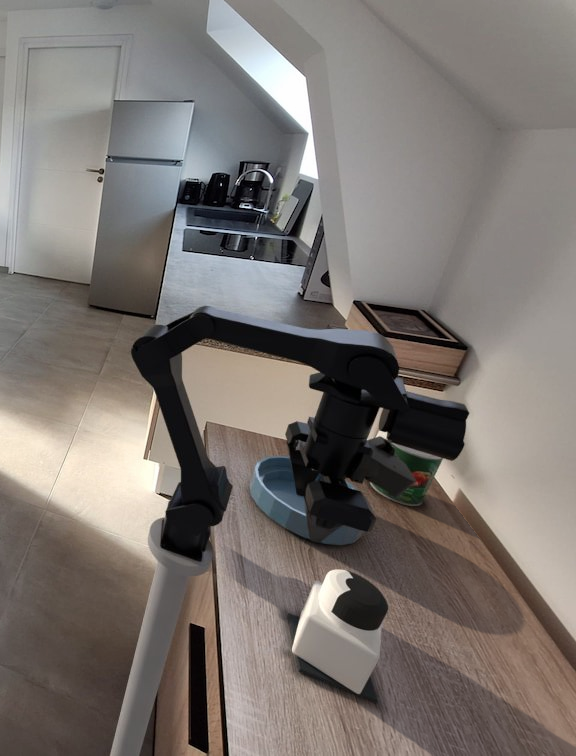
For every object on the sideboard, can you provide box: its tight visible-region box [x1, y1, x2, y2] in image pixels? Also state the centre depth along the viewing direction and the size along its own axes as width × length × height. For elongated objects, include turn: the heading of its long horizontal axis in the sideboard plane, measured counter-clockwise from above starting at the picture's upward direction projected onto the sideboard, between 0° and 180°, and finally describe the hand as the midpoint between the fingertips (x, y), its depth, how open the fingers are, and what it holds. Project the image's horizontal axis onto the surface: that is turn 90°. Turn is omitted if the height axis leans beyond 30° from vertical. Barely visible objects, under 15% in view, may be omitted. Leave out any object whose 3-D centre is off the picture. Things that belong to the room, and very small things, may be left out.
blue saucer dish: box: [248, 455, 364, 546], centre depth 83 cm, size 17×17×5 cm
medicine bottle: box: [291, 569, 389, 694], centre depth 57 cm, size 7×7×12 cm
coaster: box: [287, 612, 379, 704], centre depth 59 cm, size 8×8×1 cm
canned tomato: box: [369, 443, 444, 507], centre depth 87 cm, size 8×8×11 cm
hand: (306, 516), depth 65 cm, fingers open, 9 cm apart
